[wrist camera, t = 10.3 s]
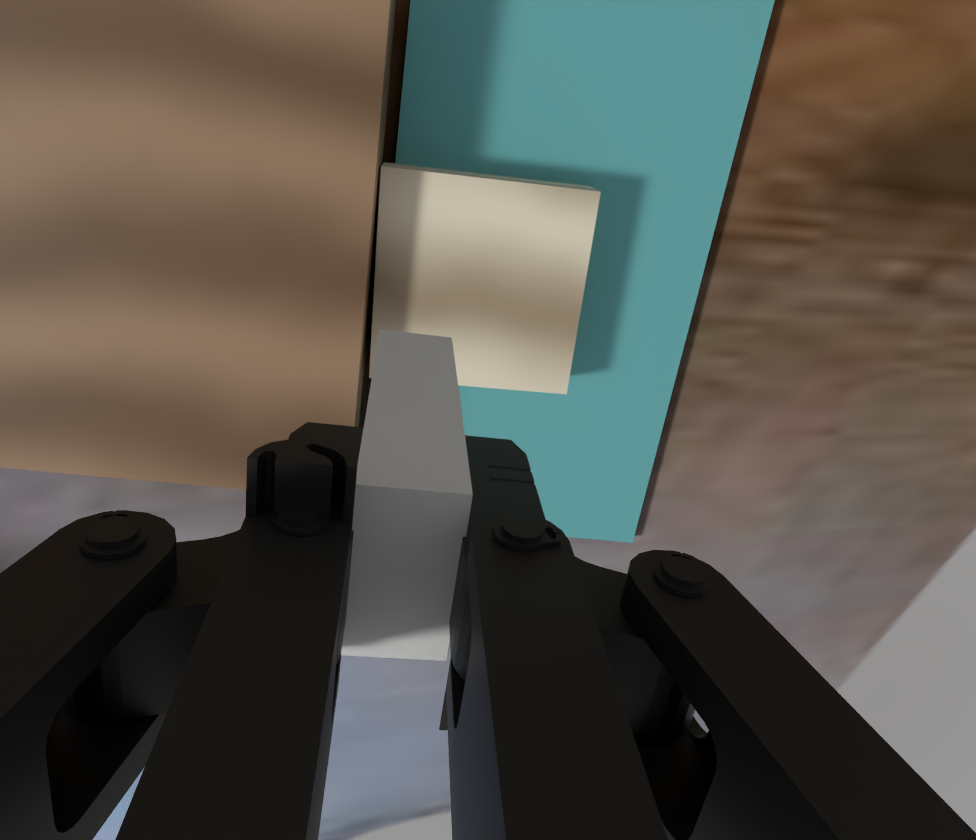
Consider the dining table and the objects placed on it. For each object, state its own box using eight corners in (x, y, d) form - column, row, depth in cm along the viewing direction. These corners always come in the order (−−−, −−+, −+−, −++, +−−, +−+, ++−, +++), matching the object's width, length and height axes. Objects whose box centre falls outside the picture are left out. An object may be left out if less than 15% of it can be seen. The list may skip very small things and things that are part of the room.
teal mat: (419, -92, 25) (419, -96, 25) (775, -23, 27) (781, -26, 26) (362, 513, 34) (361, 519, 34) (630, 536, 36) (632, 542, 35)
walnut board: (-91, -82, 24) (-184, -115, 20) (396, 4, 26) (391, -12, 22) (-25, 417, 31) (-85, 459, 27) (357, 455, 33) (348, 498, 29)
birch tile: (384, 162, 28) (380, 166, 26) (589, 186, 29) (600, 191, 27) (372, 361, 31) (369, 378, 29) (558, 377, 32) (566, 394, 30)
